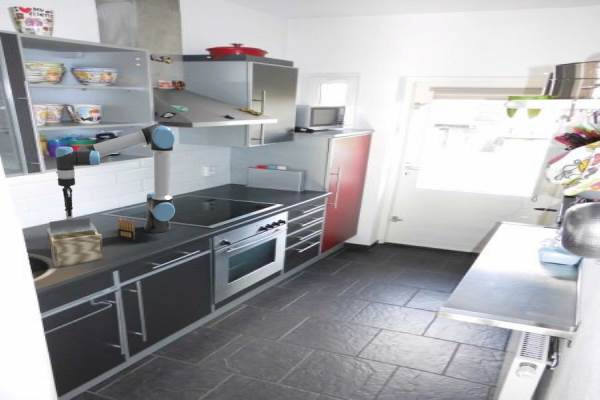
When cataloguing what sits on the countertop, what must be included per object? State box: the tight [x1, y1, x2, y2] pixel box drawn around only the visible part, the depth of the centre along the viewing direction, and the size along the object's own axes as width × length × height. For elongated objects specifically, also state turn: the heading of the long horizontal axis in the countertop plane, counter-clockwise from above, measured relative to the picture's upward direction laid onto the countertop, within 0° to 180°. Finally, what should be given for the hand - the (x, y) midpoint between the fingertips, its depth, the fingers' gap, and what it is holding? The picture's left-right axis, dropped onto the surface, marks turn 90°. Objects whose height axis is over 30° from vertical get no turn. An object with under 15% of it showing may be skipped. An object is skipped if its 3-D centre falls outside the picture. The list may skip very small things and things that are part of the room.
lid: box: [46, 217, 98, 237], centre depth 202 cm, size 20×12×4 cm, turn 127°
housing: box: [46, 229, 104, 269], centre depth 200 cm, size 20×28×13 cm
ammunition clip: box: [117, 217, 137, 241], centre depth 226 cm, size 11×2×12 cm, turn 74°
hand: (69, 221), depth 207 cm, fingers closed
